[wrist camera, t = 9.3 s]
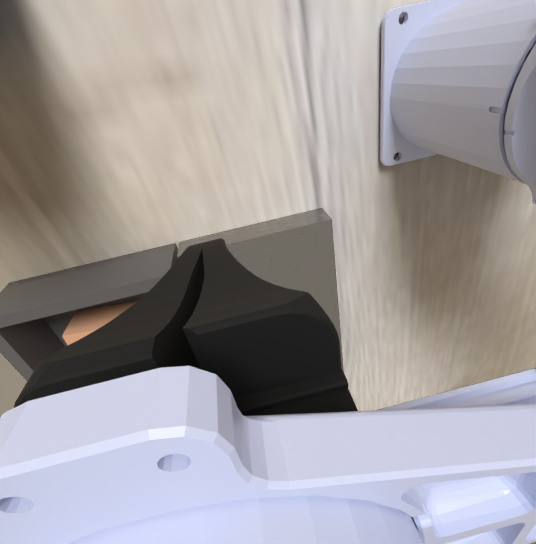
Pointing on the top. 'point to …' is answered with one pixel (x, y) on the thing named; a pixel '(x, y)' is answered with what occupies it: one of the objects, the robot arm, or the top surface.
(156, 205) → the top surface
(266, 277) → the grey flat board
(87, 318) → the tile
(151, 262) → the box
